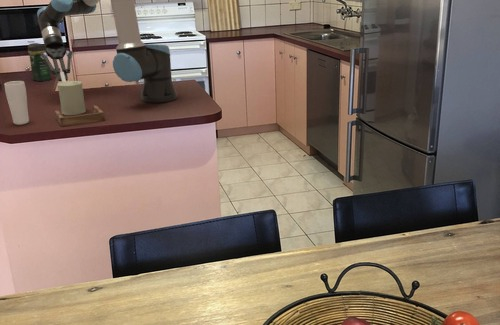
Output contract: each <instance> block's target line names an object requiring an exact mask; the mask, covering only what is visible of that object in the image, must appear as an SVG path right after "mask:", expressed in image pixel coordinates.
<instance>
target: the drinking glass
mask: <svg viewBox="0 0 500 325" xmlns="http://www.w3.org/2000/svg"><path fill="white" fill-rule="evenodd" d="M3 86H4V91H5V97H6V99H7V102H8V107H9V110H10V113H11V114H10V115H11V117H12V122H13V124H14V125H19V126H20V125H21V126H22V125H25V124H28V123H29V122H30V118H29V110H28V97H27V90H26V89H27V88H26V83H25V81H24V80H15V81H14V80H13V81H11V80H10V81H7V82H5V83H4V84H3Z"/></svg>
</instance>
